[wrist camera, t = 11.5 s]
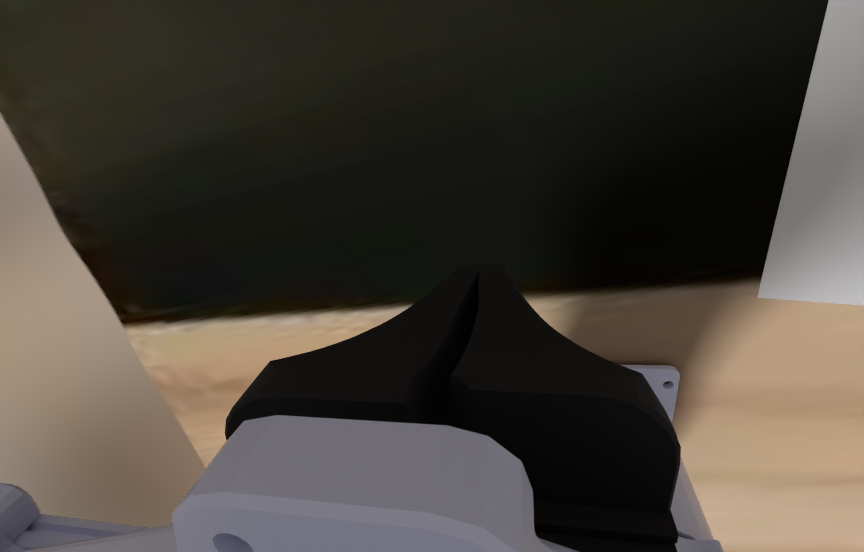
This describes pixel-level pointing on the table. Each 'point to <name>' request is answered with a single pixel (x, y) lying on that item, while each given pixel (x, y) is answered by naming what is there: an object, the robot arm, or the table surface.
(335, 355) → the robot arm
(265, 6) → the table surface
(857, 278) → the dock
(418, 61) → the table surface
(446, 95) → the table surface
